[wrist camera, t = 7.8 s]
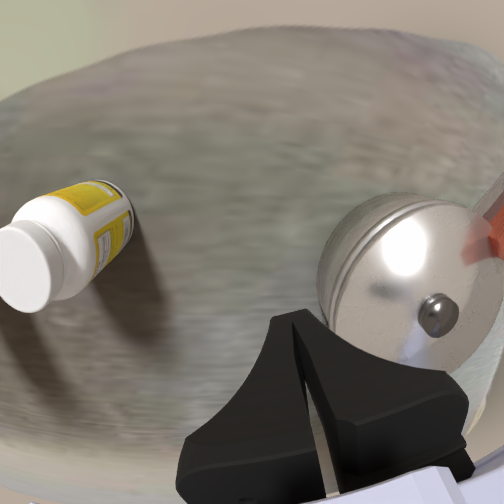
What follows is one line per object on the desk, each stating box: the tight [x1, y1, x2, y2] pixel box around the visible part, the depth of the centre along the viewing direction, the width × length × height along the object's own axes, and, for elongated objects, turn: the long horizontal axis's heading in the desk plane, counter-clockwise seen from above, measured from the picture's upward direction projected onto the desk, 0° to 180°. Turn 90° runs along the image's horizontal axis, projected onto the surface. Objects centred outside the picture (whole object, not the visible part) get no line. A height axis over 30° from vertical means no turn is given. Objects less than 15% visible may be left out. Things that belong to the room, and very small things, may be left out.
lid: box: [333, 203, 504, 375], centre depth 16 cm, size 18×12×2 cm
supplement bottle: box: [0, 180, 134, 313], centre depth 16 cm, size 5×5×10 cm
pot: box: [317, 172, 504, 331], centre depth 20 cm, size 20×13×5 cm, turn 134°
